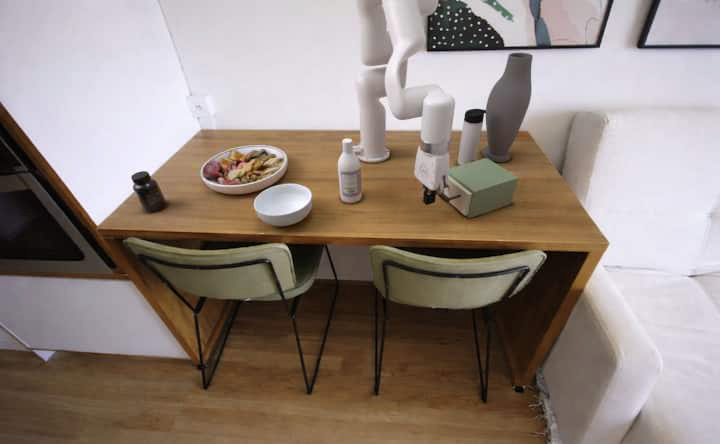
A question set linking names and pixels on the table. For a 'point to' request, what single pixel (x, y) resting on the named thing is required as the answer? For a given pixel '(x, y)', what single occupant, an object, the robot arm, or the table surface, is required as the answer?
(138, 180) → the supplement bottle
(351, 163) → the bath foam
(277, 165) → the bowl
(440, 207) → the table surface
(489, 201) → the cabinet
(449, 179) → the drawer
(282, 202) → the cereal bowl
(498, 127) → the vase
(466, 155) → the travel mug
